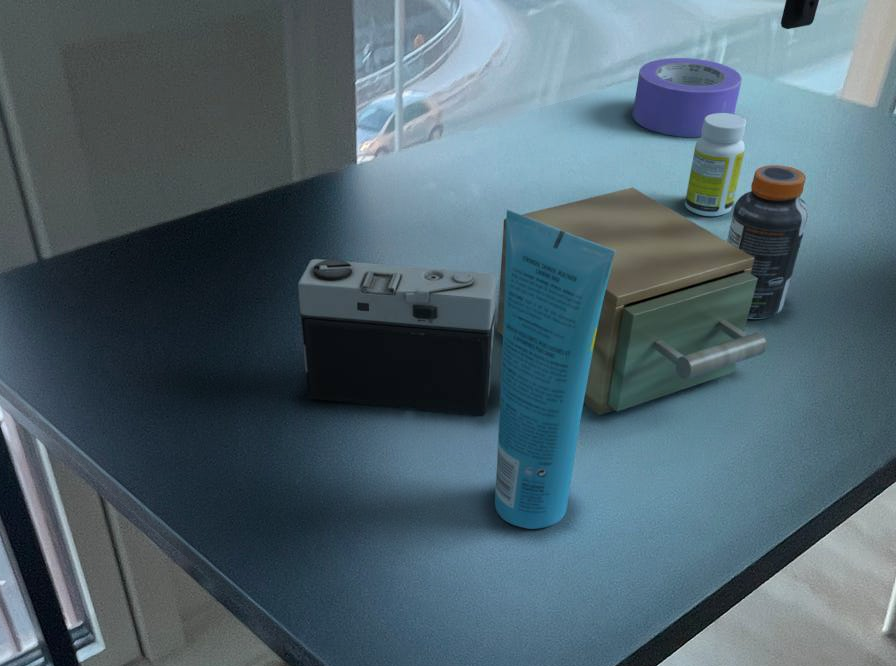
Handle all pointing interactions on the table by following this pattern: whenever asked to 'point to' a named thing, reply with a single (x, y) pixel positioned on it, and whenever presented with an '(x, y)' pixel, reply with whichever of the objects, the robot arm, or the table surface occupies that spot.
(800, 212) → the pill bottle
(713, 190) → the supplement bottle
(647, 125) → the tape roll
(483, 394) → the camera
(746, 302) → the drawer
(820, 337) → the table surface
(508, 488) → the tube
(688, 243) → the cabinet
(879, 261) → the table surface
